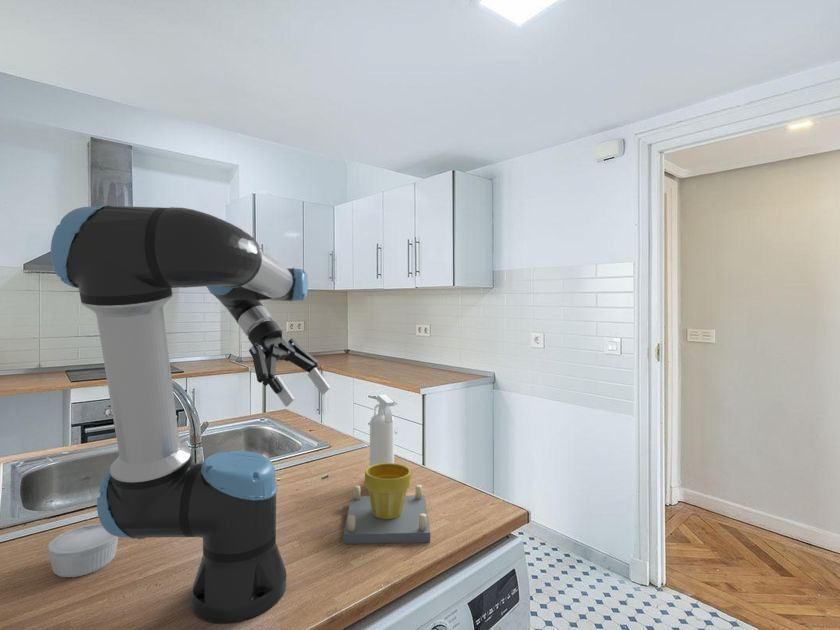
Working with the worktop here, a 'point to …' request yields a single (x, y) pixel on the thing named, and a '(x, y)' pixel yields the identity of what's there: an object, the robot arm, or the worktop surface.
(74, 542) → the ramekin
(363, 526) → the peg board
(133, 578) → the worktop surface
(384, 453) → the white spray bottle
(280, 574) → the robot arm
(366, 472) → the plant pot
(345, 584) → the worktop surface
